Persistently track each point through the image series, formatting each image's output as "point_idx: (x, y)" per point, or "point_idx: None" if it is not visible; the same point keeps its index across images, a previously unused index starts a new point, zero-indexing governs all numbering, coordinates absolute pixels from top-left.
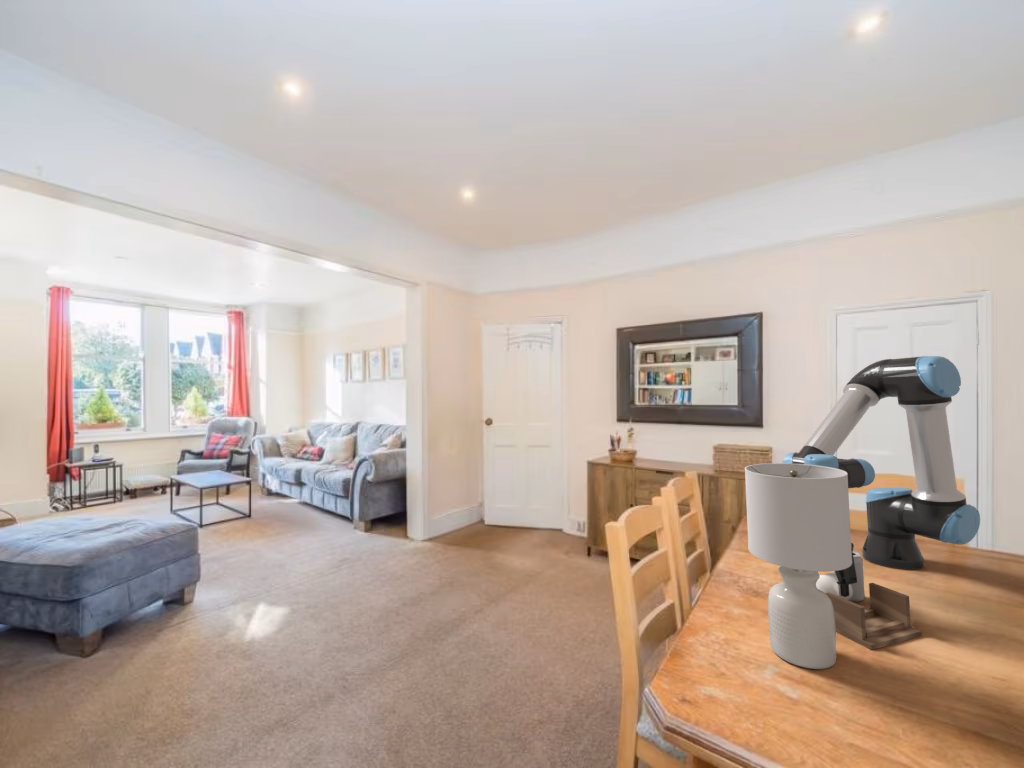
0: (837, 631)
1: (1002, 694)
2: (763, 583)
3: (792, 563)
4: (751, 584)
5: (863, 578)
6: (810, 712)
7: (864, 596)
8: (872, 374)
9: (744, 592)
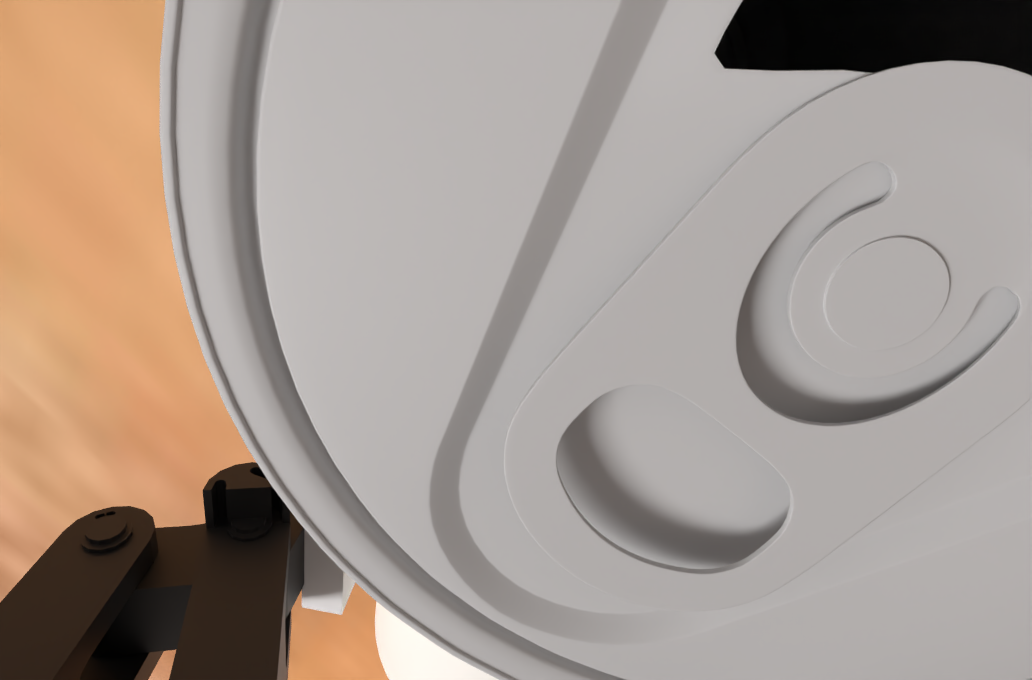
0: None
1: None
2: (55, 453)
3: None
4: (53, 532)
5: (935, 44)
6: None
7: (801, 53)
8: None
9: (164, 659)
